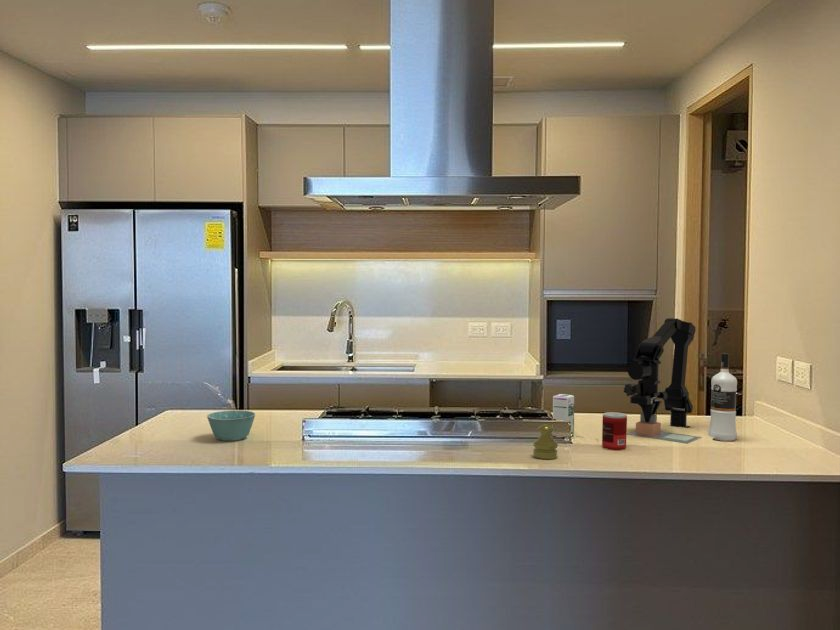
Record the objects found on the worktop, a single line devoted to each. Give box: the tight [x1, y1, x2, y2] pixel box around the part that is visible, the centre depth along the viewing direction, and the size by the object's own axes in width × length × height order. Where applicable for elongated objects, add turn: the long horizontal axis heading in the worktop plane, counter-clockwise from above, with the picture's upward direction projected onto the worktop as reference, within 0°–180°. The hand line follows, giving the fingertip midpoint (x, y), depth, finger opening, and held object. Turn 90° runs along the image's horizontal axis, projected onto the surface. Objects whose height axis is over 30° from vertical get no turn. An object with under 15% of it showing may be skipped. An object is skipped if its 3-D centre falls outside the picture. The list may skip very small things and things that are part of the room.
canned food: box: [601, 411, 628, 451], centre depth 243 cm, size 8×8×11 cm
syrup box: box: [552, 393, 575, 437], centre depth 260 cm, size 6×6×14 cm
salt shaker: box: [532, 424, 559, 460], centre depth 229 cm, size 7×7×10 cm
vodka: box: [707, 352, 738, 442], centre depth 258 cm, size 9×9×30 cm
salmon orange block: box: [635, 412, 662, 436], centre depth 262 cm, size 6×6×7 cm
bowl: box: [206, 409, 256, 442], centre depth 249 cm, size 16×16×8 cm
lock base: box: [627, 429, 703, 445], centre depth 258 cm, size 14×22×4 cm, turn 50°
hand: (648, 421), depth 262 cm, fingers closed on salmon orange block
